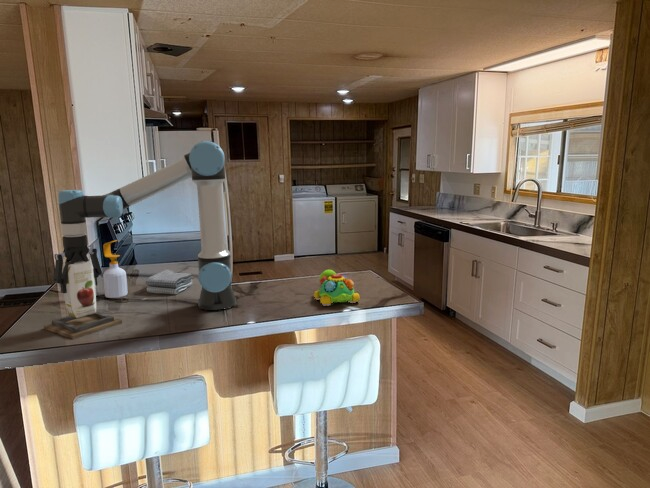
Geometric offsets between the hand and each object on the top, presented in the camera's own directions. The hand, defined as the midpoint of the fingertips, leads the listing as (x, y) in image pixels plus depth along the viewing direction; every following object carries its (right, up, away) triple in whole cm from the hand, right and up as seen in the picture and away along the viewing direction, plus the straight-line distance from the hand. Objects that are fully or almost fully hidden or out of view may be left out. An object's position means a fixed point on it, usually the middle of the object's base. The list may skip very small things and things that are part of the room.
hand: (80, 298), depth 159 cm
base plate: (0, -10, +2) cm, 10 cm away
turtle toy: (+90, -5, +32) cm, 96 cm away
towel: (+16, -2, +48) cm, 51 cm away
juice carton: (0, -6, +1) cm, 6 cm away
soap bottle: (-5, -4, +39) cm, 39 cm away
